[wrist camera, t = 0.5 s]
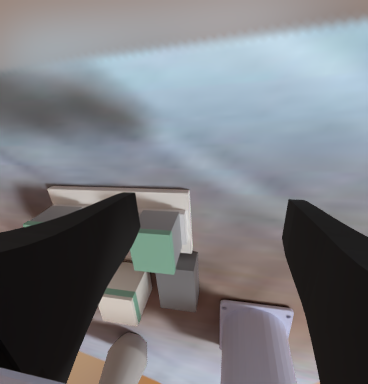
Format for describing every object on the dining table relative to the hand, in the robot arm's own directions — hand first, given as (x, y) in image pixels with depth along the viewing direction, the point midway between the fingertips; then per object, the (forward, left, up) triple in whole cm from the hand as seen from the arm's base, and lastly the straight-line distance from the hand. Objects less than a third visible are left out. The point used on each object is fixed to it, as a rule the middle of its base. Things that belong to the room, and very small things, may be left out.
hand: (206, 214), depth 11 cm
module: (-15, +10, -10) cm, 21 cm away
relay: (-14, +4, -10) cm, 17 cm away
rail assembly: (-7, +10, -9) cm, 15 cm away
